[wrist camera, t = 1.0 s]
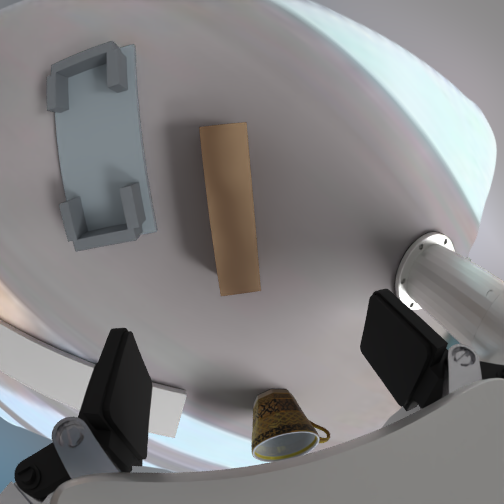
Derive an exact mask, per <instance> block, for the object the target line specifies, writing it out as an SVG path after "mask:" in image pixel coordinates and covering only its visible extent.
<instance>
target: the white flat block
mask: <svg viewBox="0 0 504 504" xmlns="http://www.w3.org/2000/svg"><path fill="white" fill-rule="evenodd" d="M95 365H96V364H94V363H91V362H89V361H86V360H83V359H81V358H78V357H76V356H73V355H71V354H69V353H66V352H64V351H62V350H59V349H57V348H55V347H53V346H50V345H48V344H46V343H44V342H42V341H40V340H38V339H36V338H34V337H32V336H30V335H28V334H26V333H24V332H22V331H20V330H18V329H16V328H15V327H13V326H11V325H9V324H7V323H6V322H4V321H2V320H0V371H1V372H3V373H4V374H6V375H8V376H9V377H11V378H13V379H15V380H16V381H18V382H20V383H22V384H23V385H25V386H27V387H29V388H31V389H33V390H35V391H37V392H39V393H41V394H43V395H45V396H47V397H49V398H51V399H53V400H56V401H58V402H60V403H62V404H65V405H67V406H69V407H72V408H74V409H77V410H79V411H80V409H81V405H82V402H83V399H84V396H85V393H86V390H87V387H88V384H89V381H90V378H91V375H92V372H93V369H94V367H95ZM152 387H153V388H152V398H151V408H150V418H149V430H148V432H149V433H154V434H158V435H163V436H167V437H172V438H175V435H176V431H177V428H178V424H179V421H180V417H181V414H182V410H183V407H184V403H185V400H186V396H187V393H186V390H182V389H178V388H173V387H169V386H165V385H161V384H157V383H154V382H152Z"/></svg>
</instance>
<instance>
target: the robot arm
mask: <svg viewBox="0 0 504 504" xmlns="http://www.w3.org/2000/svg"><path fill="white" fill-rule="evenodd" d="M395 291H396V295H397V297H396V296H395V295H394V294H393V293H392V292H391V291H390V290H388V289H383V290H378V291H375V292H374V293H373V295H372V296H371V297H370V299H369V305H368V310H367V316H366V321H365V326H364V331H363V335H362V340H361V345H360V349H361V352H362V354H363V355H364V357H365V358H366V359H367V361H368V362H369V363H370V365H371V366H372V368H373V369H374V370H375V372H376V373H377V375H378V376H379V377H380V379H381V380H382V382H383V383H384V384H385V386H386V387H387V389H388V390H389V391H390V393H391V394H392V396H393V397H394V399H395V400H396V401H397V403H398V404H399V405H400V406H403V407H404V408H405V410H406V411H409V410H411V409H412V408H415V407H416V406H417V405H419V406H420V410H419V411H417V412H415V413H413V414H411V415H409V416H407V417H405V418H403V419H401V420H399V421H397V422H394V423H393V424H390V425H388V426H386V427H383V428H381V429H379V430H376V431H374V432H371V433H369V434H366V435H364V436H361V437H358V438H356V439H353V440H350V441H348V442H345V443H342V444H339V445H336V446H333V447H330V448H326V449H323V450H320V451H316V452H313V453H309V454H305V455H301V456H298V457H293V458H289V459H285V460H280V461H275V462H270V463H265V464H260V465H254V466H248V467H241V468H233V469H225V470H215V471H202V472H183V473H130V472H131V471H132V466H142V459H146V457H147V444H148V430H149V418H150V408H151V398H152V388H153V387H152V381H151V378H150V376H149V374H148V371H147V369H146V366H145V364H144V362H143V359H142V357H141V354H140V352H139V349H138V346H137V344H136V341H135V338H134V336H133V333H132V332H131V331H129V332H128V330H127V329H126V328H115V329H111V330H110V333H109V335H108V338H107V340H106V343H105V346H104V348H103V351H102V354H101V356H100V359H99V362H98V363H97V364H96V365H95V367H94V369H93V372H92V375H91V378H90V381H89V384H88V387H87V390H86V393H85V396H84V399H83V402H82V405H81V409H80V412H79V416H78V418H77V417H67V418H64V419H62V420H60V421H59V422H58V423H57V424H56V425H55V426H54V429H53V431H52V441H53V443H51V444H50V445H48V446H47V447H45V448H43V449H41V450H40V451H38V452H37V453H35V454H33V455H32V456H30V457H28V458H27V459H25V460H23V461H22V462H20V464H18V466H17V467H16V470H15V481H16V482H15V483H13V482H10V483H9V485H8V486H7V487H6V488H5V489H4V490H3V491H2V493H1V494H0V504H504V281H502V280H501V279H499V278H498V277H496V276H494V275H493V274H491V273H489V272H488V271H486V270H484V269H483V268H481V267H480V266H478V265H476V264H474V263H473V262H471V260H470V258H468V257H467V258H464V257H462V256H461V255H459V254H457V253H455V251H454V247H453V244H452V242H451V241H450V239H449V238H448V237H446V236H445V235H443V234H441V233H438V232H431V233H427V234H425V235H423V236H421V237H420V238H419V239H417V240H416V241H415V242H414V243H413V244H412V245H411V246H410V248H409V249H408V250H407V252H406V253H405V255H404V257H403V258H402V261H401V263H400V265H399V268H398V271H397V274H396V280H395ZM418 309H423V310H425V311H426V312H427V313H428V314H429V315H430V316H431V317H432V318H434V319H435V320H436V321H437V322H438V323H439V324H440V325H441V326H442V327H443V328H444V329H446V330H447V331H448V332H449V333H450V334H451V335H452V336H453V337H454V338H455V339H456V340H457V341H458V342H459V343H460V344H457V345H453V346H452V347H450V349H449V351H448V350H447V349H446V347H447V344H448V343H447V342H446V341H445V340H444V339H443V338H442V337H441V336H440V335H438V334H437V333H436V332H435V331H434V330H433V329H432V328H431V327H430V326H429V325H428V324H427V323H426V322H424V321H423V320H422V319H421V318H420V317H419V316H418V315H417V314H416V313H415V312H413V311H412V310H418Z"/></svg>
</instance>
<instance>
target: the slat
mask: <svg viewBox="0 0 504 504" xmlns="http://www.w3.org/2000/svg"><path fill="white" fill-rule="evenodd" d="M199 130H200V140H201V150H202V160H203V169H204V177H205V186H206V194H207V202H208V210H209V218H210V226H211V233H212V240H213V247H214V254H215V261H216V268H217V274H218V281H219V287H220V294H221V296H227V295H234V294H242V293H249V292H256V291H261V286H260V274H259V262H258V250H257V238H256V226H255V215H254V203H253V191H252V180H251V169H250V157H249V146H248V135H247V124H246V122H243V123H232V124H221V125H212V126H204V127H199Z"/></svg>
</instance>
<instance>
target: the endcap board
mask: <svg viewBox="0 0 504 504" xmlns="http://www.w3.org/2000/svg"><path fill="white" fill-rule="evenodd" d="M47 111H52V112H55V122H56V135H57V145H58V153H59V161H60V168H61V174H62V180H63V186H64V191H65V196H66V201H65V202H63V203H61V204H59V207H60V211H61V216H62V220H63V224H64V228H65V232H66V235H67V239H68V242H69V241H73V244H74V247H75V251H81V250H86V249H92V248H97V247H102V246H108V245H113V244H118V243H124V242H129V241H135V240H137V239H138V237H139V236H140V235H141V234H147V233H153V232H156V231H157V225H156V220H155V215H154V210H153V205H152V199H151V193H150V188H149V182H148V176H147V169H146V163H145V156H144V148H143V141H142V132H141V124H140V114H139V103H138V91H137V76H136V53H135V45H134V44H132V45H128V46H125V47H122V48H119V47H118V46H117V45H116V44H115V43H114V42H113V41H110V42H107V43H104V44H101V45H98V46H95V47H93V48H90V49H87V50H85V51H82V52H80V53H77V54H75V55H73V56H70V57H68V58H66V59H64V60H61V61H59V62H57V63H55V64H53V65H51V75H50V76H48V77H47Z"/></svg>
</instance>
